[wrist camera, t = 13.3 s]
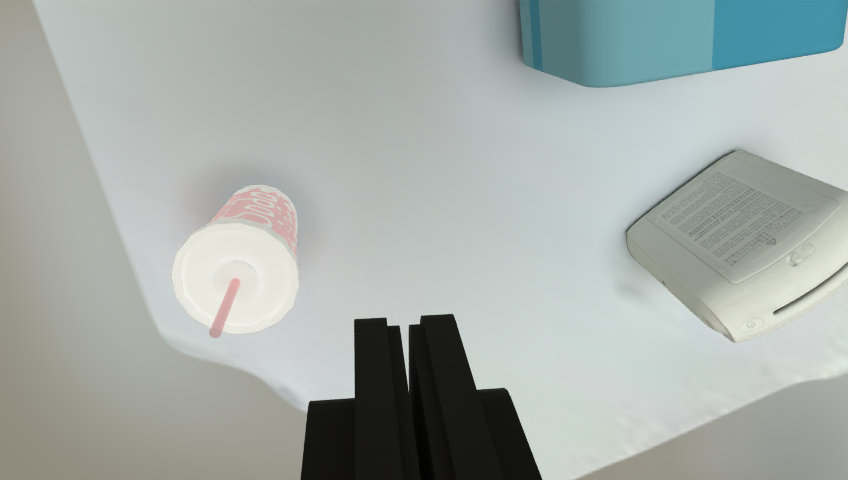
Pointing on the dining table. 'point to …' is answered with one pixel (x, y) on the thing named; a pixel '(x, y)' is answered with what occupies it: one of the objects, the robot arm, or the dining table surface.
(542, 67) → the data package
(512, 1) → the dining table surface
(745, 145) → the dining table surface
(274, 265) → the beverage cup
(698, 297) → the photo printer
